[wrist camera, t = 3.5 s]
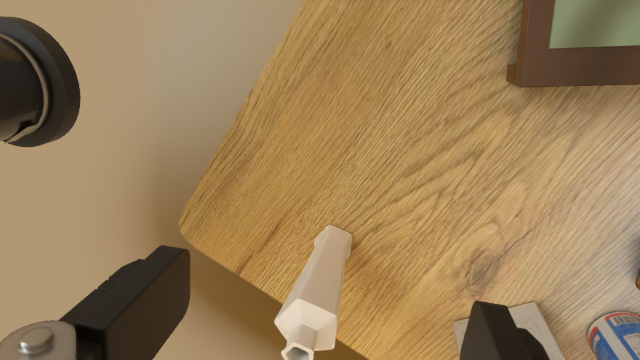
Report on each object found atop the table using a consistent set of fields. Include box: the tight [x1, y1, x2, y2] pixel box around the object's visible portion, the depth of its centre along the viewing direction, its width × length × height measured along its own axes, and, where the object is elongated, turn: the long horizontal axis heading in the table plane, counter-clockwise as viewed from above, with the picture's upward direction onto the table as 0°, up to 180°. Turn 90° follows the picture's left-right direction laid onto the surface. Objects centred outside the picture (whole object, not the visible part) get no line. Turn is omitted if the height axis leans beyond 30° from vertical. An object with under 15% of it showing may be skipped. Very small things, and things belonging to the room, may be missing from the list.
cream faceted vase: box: [274, 225, 352, 360], centre depth 33 cm, size 5×4×15 cm
